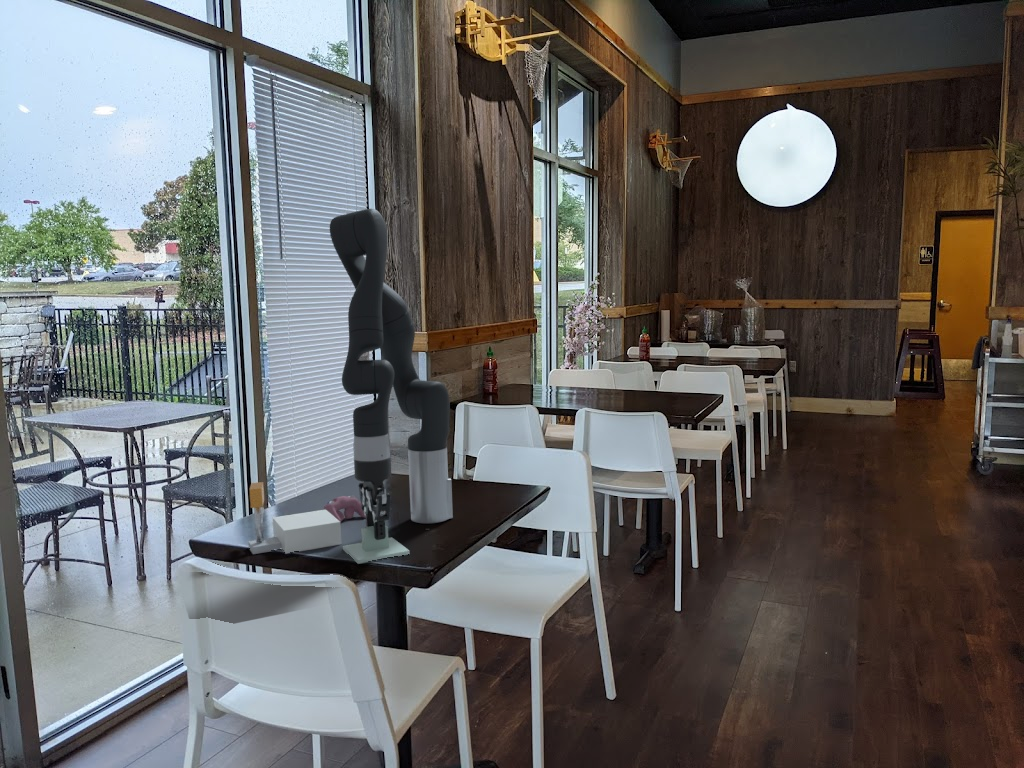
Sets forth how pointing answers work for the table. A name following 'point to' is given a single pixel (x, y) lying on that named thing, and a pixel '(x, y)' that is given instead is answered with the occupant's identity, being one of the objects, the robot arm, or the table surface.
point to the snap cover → (374, 547)
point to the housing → (301, 533)
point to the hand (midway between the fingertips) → (376, 535)
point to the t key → (258, 508)
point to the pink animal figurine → (344, 507)
